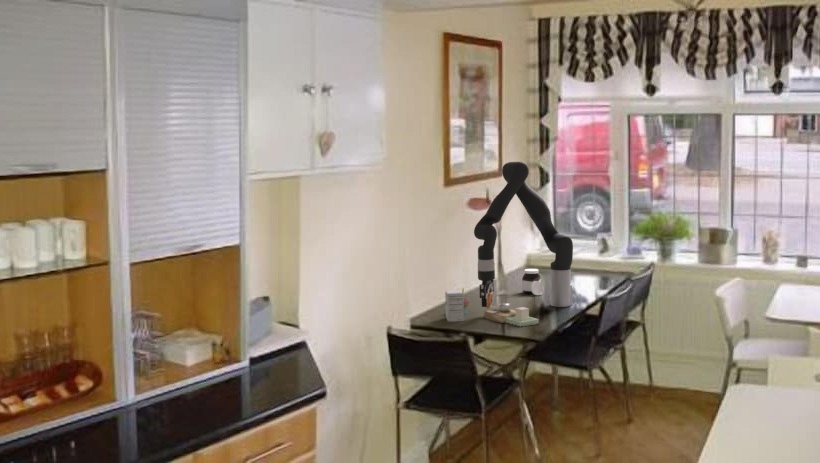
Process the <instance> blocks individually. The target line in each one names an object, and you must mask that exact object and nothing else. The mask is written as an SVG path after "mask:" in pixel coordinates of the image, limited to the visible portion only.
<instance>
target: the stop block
mask: <svg viewBox="0 0 820 463" xmlns="http://www.w3.org/2000/svg"><path fill="white" fill-rule="evenodd" d="M515 309H516V320H517V321H520V322H522V321H527V320H529V317H530V308H529V307H528V308H527V307H524V306H520V307H515Z"/></svg>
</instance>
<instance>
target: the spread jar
mask: <svg viewBox="0 0 820 463" xmlns="http://www.w3.org/2000/svg"><path fill="white" fill-rule="evenodd" d="M521 290H522V292H523V293H524V294H525V295H534V296H541V295H542V294H543V293H544V291H545V288H544V285H543V283H542V276H541V275H540V274H539V269H538V268H526V269H524V273H523V276H522V278H521Z"/></svg>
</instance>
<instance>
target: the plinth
mask: <svg viewBox="0 0 820 463" xmlns="http://www.w3.org/2000/svg"><path fill="white" fill-rule="evenodd" d="M483 313H484V314H483V315H484V316H483V318H484V319H487V320H490V321H495V322H498V323H501V324H504V323H506V318H510V317H516V308H515V309H514V308H512V307H511V311H510V312H500V311H499V310H495V309H489V310H484V311H483Z"/></svg>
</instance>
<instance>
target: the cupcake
mask: <svg viewBox="0 0 820 463" xmlns="http://www.w3.org/2000/svg"><path fill="white" fill-rule="evenodd" d="M464 288H465V287H463V288H462V290H461V291H462V292H463V293H464V291H465V289H464ZM469 303H470V302H469V300H468V299H467V298H464V315H465V314H466V311H467V309H468V306H469V305H470V304H469Z"/></svg>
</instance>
